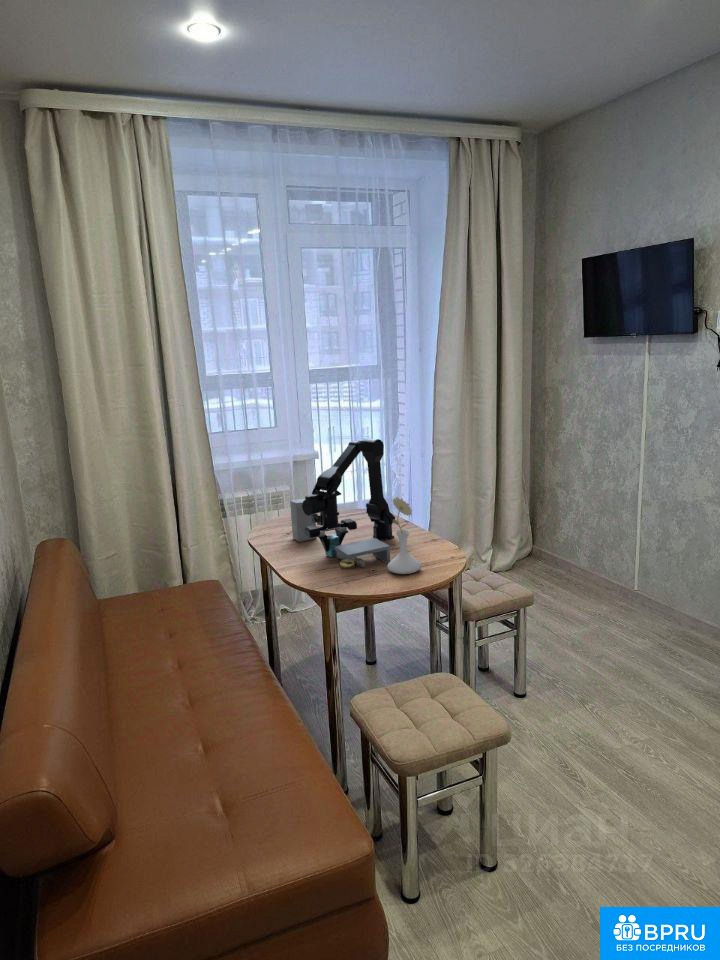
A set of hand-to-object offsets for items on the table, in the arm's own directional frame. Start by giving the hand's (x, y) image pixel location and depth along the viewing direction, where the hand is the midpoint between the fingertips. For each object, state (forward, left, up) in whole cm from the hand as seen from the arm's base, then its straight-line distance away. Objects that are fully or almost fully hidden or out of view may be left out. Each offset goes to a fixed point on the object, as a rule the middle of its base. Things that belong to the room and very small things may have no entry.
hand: (332, 550), depth 240 cm
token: (+1, +14, -2) cm, 14 cm away
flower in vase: (-14, +28, -2) cm, 31 cm away
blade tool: (-2, +8, -2) cm, 9 cm away
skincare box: (0, -26, -2) cm, 26 cm away
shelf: (-6, +13, -2) cm, 15 cm away
